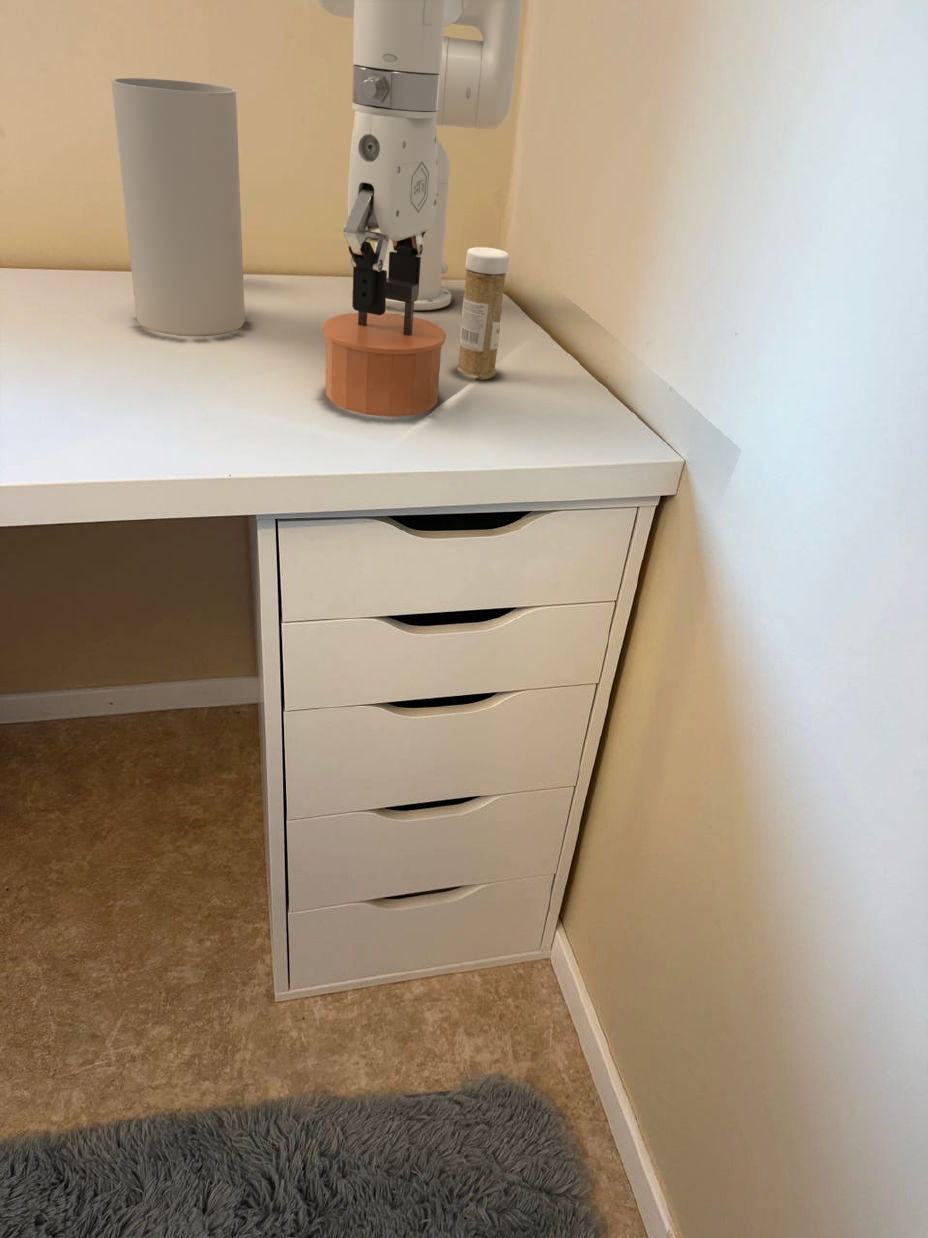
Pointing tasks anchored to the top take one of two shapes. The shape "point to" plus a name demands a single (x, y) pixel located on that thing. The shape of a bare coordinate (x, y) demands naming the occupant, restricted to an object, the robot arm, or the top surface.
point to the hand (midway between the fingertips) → (386, 302)
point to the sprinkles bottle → (482, 311)
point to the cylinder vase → (182, 203)
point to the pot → (382, 380)
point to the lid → (387, 327)
